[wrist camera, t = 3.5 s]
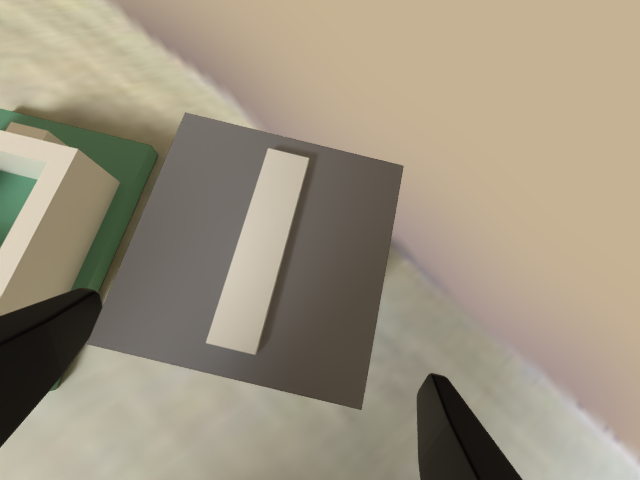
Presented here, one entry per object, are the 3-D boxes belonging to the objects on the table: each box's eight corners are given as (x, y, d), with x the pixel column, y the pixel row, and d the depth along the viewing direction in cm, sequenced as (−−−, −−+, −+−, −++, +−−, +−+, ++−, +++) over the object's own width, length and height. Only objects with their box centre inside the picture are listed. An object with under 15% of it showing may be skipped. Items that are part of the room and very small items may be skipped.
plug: (316, 348, 17) (364, 413, 5) (237, 329, 17) (77, 344, 5) (333, 270, 18) (407, 160, 6) (260, 252, 18) (181, 105, 6)
